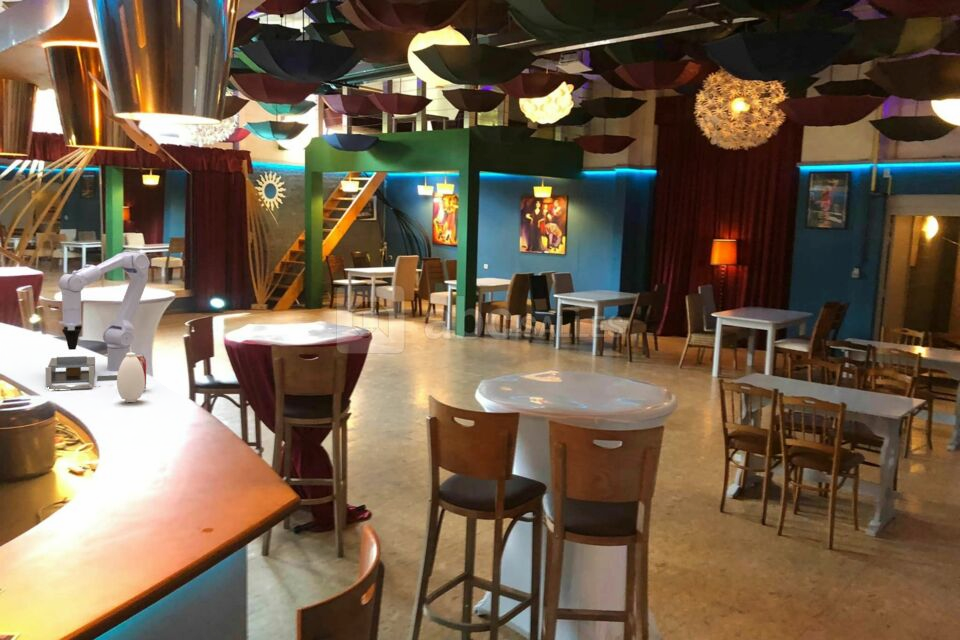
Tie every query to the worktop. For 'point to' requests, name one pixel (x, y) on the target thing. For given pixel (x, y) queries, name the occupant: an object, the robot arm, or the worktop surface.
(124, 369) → the egg-shaped bottle
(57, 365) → the lid
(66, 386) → the rod
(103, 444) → the worktop surface
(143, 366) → the soda can
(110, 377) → the mat
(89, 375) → the case
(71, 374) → the module
